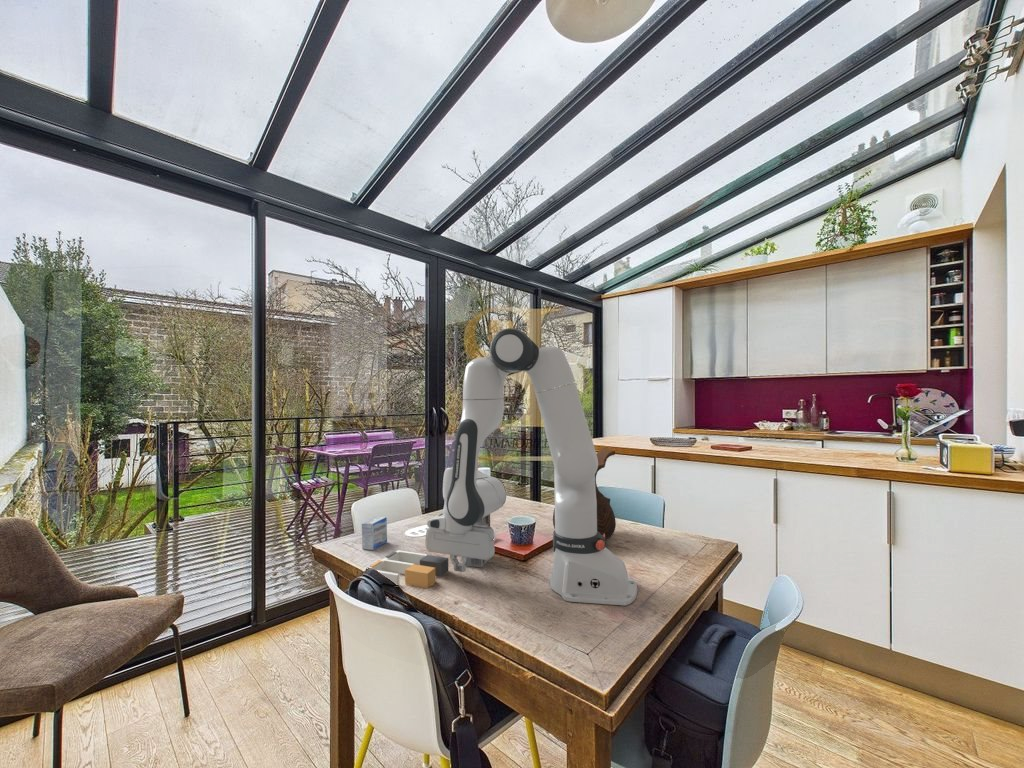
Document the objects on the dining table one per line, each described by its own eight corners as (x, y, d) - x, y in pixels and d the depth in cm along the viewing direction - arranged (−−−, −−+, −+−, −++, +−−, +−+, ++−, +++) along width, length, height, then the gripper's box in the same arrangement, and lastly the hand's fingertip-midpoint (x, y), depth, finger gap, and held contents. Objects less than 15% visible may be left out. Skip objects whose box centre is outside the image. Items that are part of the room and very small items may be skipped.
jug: (619, 553, 137) (618, 457, 137) (550, 550, 141) (549, 456, 141) (615, 530, 159) (614, 447, 159) (555, 528, 162) (554, 446, 162)
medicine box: (373, 550, 143) (372, 524, 143) (361, 549, 144) (361, 522, 144) (387, 542, 150) (387, 516, 150) (376, 541, 152) (376, 515, 152)
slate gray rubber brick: (448, 571, 126) (448, 557, 126) (441, 577, 123) (441, 563, 123) (427, 568, 129) (427, 554, 129) (419, 574, 125) (419, 560, 125)
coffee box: (471, 554, 139) (470, 503, 139) (491, 555, 137) (490, 504, 137) (462, 566, 130) (461, 511, 130) (483, 567, 128) (482, 512, 128)
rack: (427, 564, 131) (427, 553, 131) (397, 586, 117) (397, 574, 117) (398, 559, 135) (398, 549, 135) (365, 580, 121) (365, 568, 121)
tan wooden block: (435, 582, 120) (435, 567, 120) (427, 588, 116) (427, 573, 116) (413, 578, 122) (413, 564, 122) (405, 584, 119) (405, 569, 119)
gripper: (498, 521, 122) (498, 571, 122) (434, 514, 129) (434, 561, 129) (488, 528, 116) (489, 581, 116) (422, 520, 123) (422, 569, 123)
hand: (459, 570), depth 123 cm, fingers closed
